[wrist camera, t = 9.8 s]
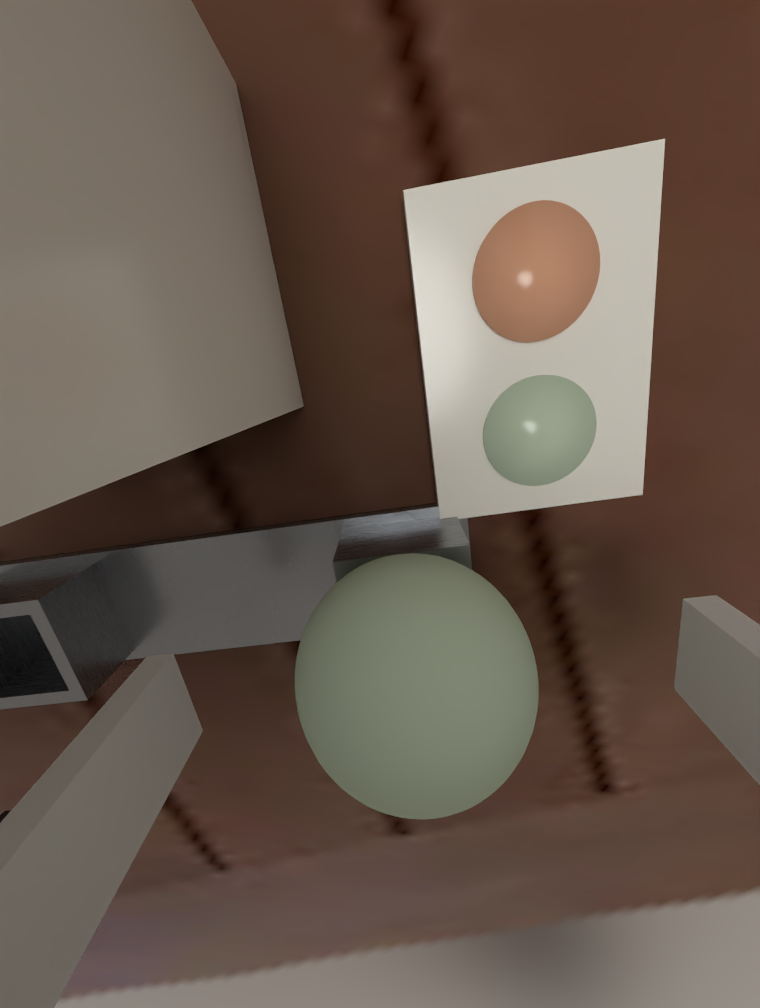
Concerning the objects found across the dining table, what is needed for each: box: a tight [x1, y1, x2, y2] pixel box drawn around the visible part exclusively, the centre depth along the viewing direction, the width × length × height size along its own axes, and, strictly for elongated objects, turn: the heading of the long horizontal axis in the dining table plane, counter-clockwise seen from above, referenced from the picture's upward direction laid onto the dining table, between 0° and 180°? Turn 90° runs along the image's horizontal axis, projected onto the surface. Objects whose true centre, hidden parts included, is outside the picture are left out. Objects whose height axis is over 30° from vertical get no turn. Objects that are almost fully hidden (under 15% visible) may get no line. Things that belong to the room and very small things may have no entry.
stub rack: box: [0, 503, 472, 709], centre depth 14 cm, size 5×19×3 cm, turn 99°
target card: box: [403, 139, 665, 519], centre depth 12 cm, size 10×7×1 cm
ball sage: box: [295, 553, 539, 819], centre depth 10 cm, size 6×6×6 cm
